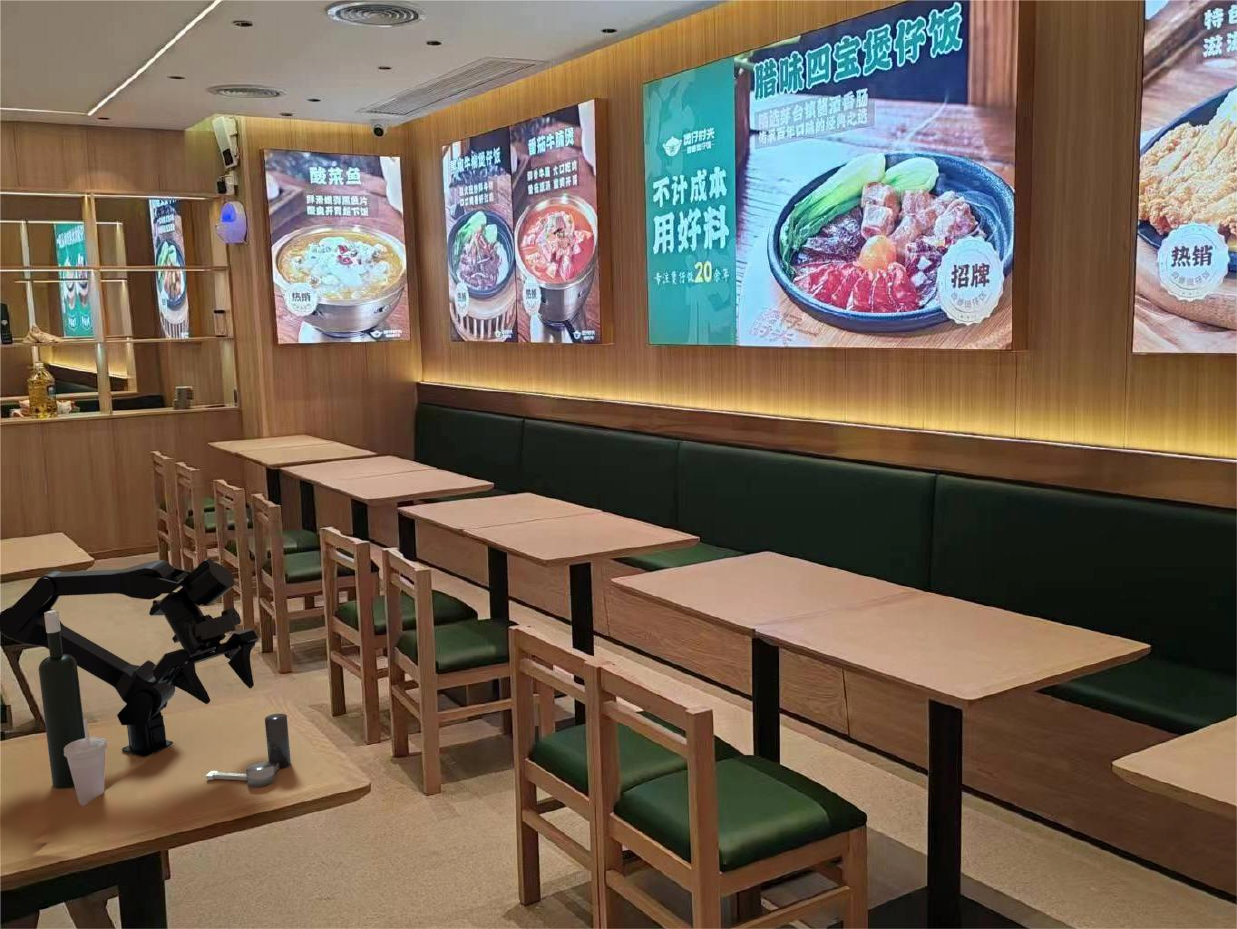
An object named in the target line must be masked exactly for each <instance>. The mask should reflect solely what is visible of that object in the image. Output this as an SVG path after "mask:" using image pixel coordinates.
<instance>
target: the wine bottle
mask: <svg viewBox="0 0 1237 929" xmlns="http://www.w3.org/2000/svg"><path fill="white" fill-rule="evenodd" d="M52 610H53V609H52ZM44 616H45V625H46V632H47V636H48V644H49V649H48V652H49V656H48V657H45V658H44V659H43V660H41V662H40V663H39V665H38V675H39V686H40V691H41V692H40V693H41V699H42V709H43V716H44V723H45V732H46V740H47V749H48V756H49V764H50V765H49V766H50V772H51V773H50V774H51V781H52V786H53V787H54V788H56V789H70V788H75V786H74V782H73V778H72V775H71V771H70V767H69V764H68V760H67V757H65V756H64V747H65V746H66V745H68V744H69V743H71V742H74V741H76V740H80V739H84V738H85V730H84V722H83V720H84V714H83V713H84V712H83V704H82V697H81V688H80V680H79V673H78V672H79V671H78V666H77V662H76V660H75V659H74V658H73V657H72V656H70V655H67V654H63V650H62V642H61V633H60V630H61V628H60V621H61V620H60V612H59V610H53V611H48V612H45V613H44Z"/></svg>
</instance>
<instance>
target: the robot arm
mask: <svg viewBox="0 0 1237 929" xmlns="http://www.w3.org/2000/svg"><path fill="white" fill-rule="evenodd" d="M234 586H235V579H234V577H233V574H232V573H231V571H229V570H228V568H227V567H224V566H223V565H222V564H219V563H218V562H215V561H213V560H212V559H211V558H210V557H207V558H206V559H204V560H203V561H201V562H200V563H199V564H198V565H197V567H195V569H193V570H192V571H191V570H187V569H183V568H179V567H174V566H173V565H171V564H170V562H168V561H167V560H165V559H164V560H163V559H158V560H153V561H148V562H144V563H139V564H137V565H133V566H128V567H126V568H118V569H99V570H98V569H97V570H74V571H73V570H72V571H59V570H53V571H51V572H48V573H46V574H44V575H41V576H40V577H39V578H38V579H37V580H36V582H35V583H34V584H33V585H32V586H31V588H30V589H28V591H26V593H24V594H23V596H21V597H20V598H19V599H18V600H17V601H16V602H15V603H14V604H13V605H11V606H9V607H7V608H6V609H4V610H2V611H1V613H0V633H1V634H2V636H4V637H5V638H7V639H10V640H12V641H15V642H17V643H20V644H24V645H29V646H37V647H42V648H46V649H48V650H49V644H48V636H47V632H46V625H45V616H44V613H45V612H48V611H53V609H52V608H53V606H54V605H55V604H56V603H57V601H58V599H59V598H60V597H67V596H87V595H88V596H89V595H111V594H113V595H114V594H115V595H123V596H125V597H128V598H132V599H139V600H140V599H141V600H147V601H149V600H153V601H152V605H151V607H150V610H149V612H148V615H149V616H151V617H152V616H156V617H157V616H164V618H165V619H166V621H167V623H168V625H169V626H170V628H171V630H172V632H173V634H174V635H173V637H171V640H172V641H173V643H174V644H176V643H179V644H180V645H181V647H182V648H180V649H176V650H174V651H170V652H166V653H164V654H163V656H162V657H161V658H160V659H159V661H157V663H155V662H153V661H151V660H148V659H147V660H146V661H145V662H144V663H142V664H141V665H138V664H132V663H130V662H128V661H126V660H125V659H123V658H121V657H120V656H117V655H116V654H114V653H113V652H111V651H109V650H107V649H106V648H104V647H102V646H101V645H99V644H97V643H96V642H93V641H92V640H91V639H89V638H86V637H85V636H83V635H82V634H80V633H78V632H76V631H75V630H72V629H71V628H69V627H68V626H66V625H64V624H63V623H62V621H61V620H60V628H61V630H60V633H61V642H62V650H63V654H67V655H70V656H72V657H73V658H74V659H75V660H76V662H77V668H80V669H82V670H84V671H85V672H88V674H91V675H92V676H94V677H96V678H97V679H100V680H101V681H103V682H104V683H106V684H108V685H110V686H111V687H113V688H114V689H115V690H116V692H117V694H118V696H119V697H120V698H121V700H122V701H123V702H124V703H125V705H124V707H123V708H122V709H121V710H120V711H119V712H118V713H117V714H116V717H117V718H118V721H119V723H120V725H121V726H126V729H127V736H128V737H127V738H128V745H126V746H124V747H121V752H123V753H126V754H131V755H133V756H138V757H141V758H146V757H149V756H151V755H153V754H155V753H157V752H158V753H159V752H160V751H162V750H164V749H166V748H168V747H170V746H171V745H173V744H174V741H172V740H169V739H167V735H166V726H165V722H164V720H165V719H164V715H163V714H162V711H163V710H164V709H166V708H167V707H168V702H169V701H170V700H171V699H172V697H173V696H174V695H175V692H176V688H178V689H180V690H182V691H184V692H185V693H187V694H189V695H190V696H192V697H193V698H195V699H197V700H199V701H200V702H201V703H203V704H205V705H208V704H210V702H211V698H210V696H209V694H208V691H207V689H205V686H204V685H203V683H202V681H201V679H200V678H199V675H197V671H196V664H197V663H201V662H203V661H207V660H209V659H211V660H212V659H214V658H217V657H220V656H223V655H224V657H225V658H226V659H227V660H228V659H229V661H228V662H227V664H228V665H229V667H230V668H231V669H232V670H233V672H234V673H235V674H236V675H237V676H238V678H239V679H240V680H241V681H242V683H243V684H244V685H245V686H246V687H247V688H248V689H253V688H254V685H255V684H254V676H253V672H252V664H251V652H252V650H253V649H254V648H255V646H256V644H257V643H258V641H259V640H260V637H259V636H258V634H257V632H256V631H255V630H254V629H253V628H246V629H242V630H239V631H237V629H236V628H237V627H236V626H239V625H241V623H242V619H241V616H240V614H239V612H238V611H237V609H236V608H235V607H231V608H227V609H226V610H222V611H221V615H219V616H216V617H213V616H212V615H210V614H206V615H205V614H204V612H203V611H202V610H201V606H204V607H205V606H206V607H208V606H211V605H212V604H213V603H214V602H216V601H217V600H218V599H220V598H221V597H222V596H223V595H225V594H226V593H227V592H228V591H230V590H231V589H232V588H233V587H234ZM176 590H177V591H176ZM164 594H165V596H163V598H162V599H159V600H158V599H157V598H159V597H160V596H162V595H164ZM166 594H167V595H166ZM155 599H156V600H155ZM235 631H236V632H235ZM230 632H233V633H232V634H231V636H229V638H228V639H227V640H226V641H225V642H222V643H221V641H223V640H224V639H225V638H226V637H227V635H226V634H228V633H230Z"/></svg>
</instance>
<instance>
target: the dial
mask: <svg viewBox="0 0 1237 929" xmlns="http://www.w3.org/2000/svg"><path fill="white" fill-rule="evenodd" d="M264 725H265V726H264V727H265V736H266V747H267V760H268V761H262V762H261V761H260V762H256V763H252V764H250V765H249V766H247V767H246V768H245V773H234V772H233V773H232V772H219V770H211V771H210V772H208V773H207V774H206V775H205V780H210V781H213V780H228V781H229V780H233V781H246V785H247V786H248V787H250V788H262V787H266V786H269V785H271V784H273V783H275V780H276V777H275V776H276V775H275V773H276V772H277V771H279V770H281V769H285V768H287V767H289V766H291V764H292V761H291V760H292V759H291V750H290V748H291V747H290V738H289V736H290V735H289V725H288V716H287V714H286V713H274V714H270V715H267V716H266V717H265V718H264Z"/></svg>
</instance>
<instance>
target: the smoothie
mask: <svg viewBox="0 0 1237 929" xmlns="http://www.w3.org/2000/svg"><path fill="white" fill-rule="evenodd" d="M83 722H84V730H85V738H84V739H80V740H76V741H74V742H71V743H69V744H68V745H66V746H65V747H64V756H65V757H67V760H68V764H69V767H70V771H71V775H72V778H73V782H74V786H75V787H74V789H75V792H76V796H77V800H78V804H79V806H83V807H85V806H86V805H87V804H89V803H90V802H92V801H93V800H95V799H96V798H97V797H99V796H101V795H102V794H104V793H105V774H106V773H105V772H106V770H105V768H106V749H107V747H108V744H107V740H106V739H105V738H103V737H97V736H96V737H95V736H93V737H90V733H89V727H88V725H89V724H88V718H83Z"/></svg>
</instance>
